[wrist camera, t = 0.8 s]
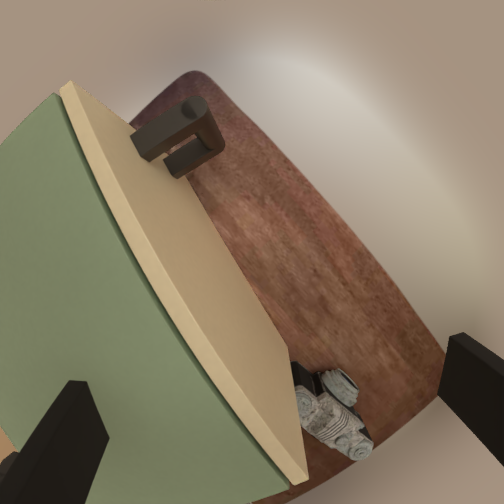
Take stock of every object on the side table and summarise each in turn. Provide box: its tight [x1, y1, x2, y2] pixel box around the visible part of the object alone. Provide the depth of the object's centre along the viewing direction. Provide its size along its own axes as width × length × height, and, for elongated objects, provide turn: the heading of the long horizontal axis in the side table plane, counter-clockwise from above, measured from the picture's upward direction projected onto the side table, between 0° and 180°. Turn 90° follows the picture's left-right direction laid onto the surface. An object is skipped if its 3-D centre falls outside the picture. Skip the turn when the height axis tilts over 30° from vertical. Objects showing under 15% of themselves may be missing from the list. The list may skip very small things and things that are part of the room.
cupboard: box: [0, 93, 289, 504], centre depth 27 cm, size 18×26×24 cm
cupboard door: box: [59, 80, 309, 485], centre depth 26 cm, size 7×26×24 cm, turn 31°
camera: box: [290, 361, 373, 461], centre depth 34 cm, size 15×7×10 cm, turn 47°
